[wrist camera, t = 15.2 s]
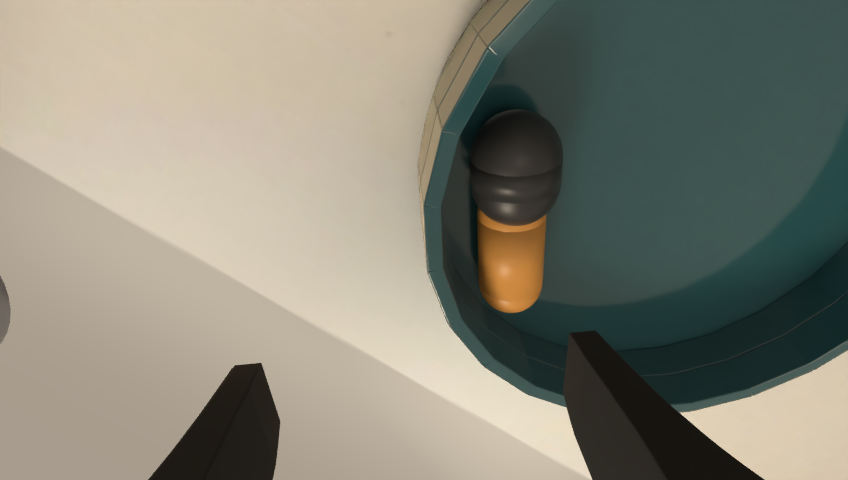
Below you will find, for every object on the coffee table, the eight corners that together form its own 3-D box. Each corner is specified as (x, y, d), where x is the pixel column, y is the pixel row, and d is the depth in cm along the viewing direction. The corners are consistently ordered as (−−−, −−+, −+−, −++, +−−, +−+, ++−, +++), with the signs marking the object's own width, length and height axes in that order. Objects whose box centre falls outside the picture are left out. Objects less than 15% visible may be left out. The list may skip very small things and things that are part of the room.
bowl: (615, 406, 29) (645, 471, 26) (314, 195, 21) (301, 250, 18) (1007, 144, 22) (1119, 188, 19) (772, -328, 14) (896, -401, 11)
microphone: (456, 105, 19) (489, 136, 16) (539, 91, 19) (584, 119, 17) (464, 295, 23) (490, 344, 21) (531, 280, 24) (565, 325, 21)
